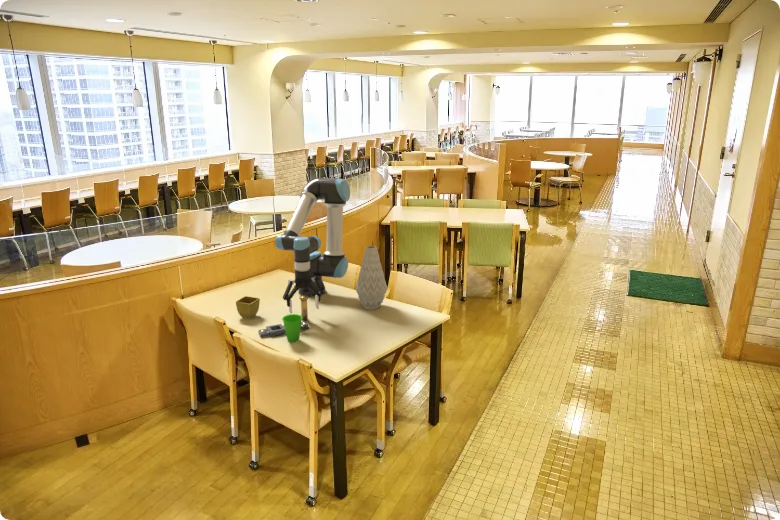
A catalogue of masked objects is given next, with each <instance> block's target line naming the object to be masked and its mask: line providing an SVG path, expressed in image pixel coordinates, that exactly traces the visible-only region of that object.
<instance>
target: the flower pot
mask: <svg viewBox="0 0 780 520" xmlns="http://www.w3.org/2000/svg"><path fill="white" fill-rule="evenodd" d="M260 300H261V298H260V297H253V296H247V295H246V296H245V295H244V296H243V297H241V298H239V299H238V300H237V299H236V301H235V307H236V310H237V313H238V314H239V316H240V317H241V318H245V319H252V318H254V317H255V316H256V315H257V314H258V312H259V310H260Z"/></svg>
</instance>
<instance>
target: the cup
mask: <svg viewBox="0 0 780 520" xmlns="http://www.w3.org/2000/svg"><path fill="white" fill-rule="evenodd" d="M302 318H303V317H302V315H301V314H298V313H289V314H286V315H284V316H283V317H282V318H281V320H282V321H283V325H284V326H285V331H286V333H285V335H286V339H287V342H288V343H297V342H299V340H300V337H301V336H300V335H301V330H300V329H301V322H303V321H302Z"/></svg>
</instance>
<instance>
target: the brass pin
mask: <svg viewBox="0 0 780 520" xmlns="http://www.w3.org/2000/svg"><path fill="white" fill-rule="evenodd" d="M308 299H309V296H305V295H304V296H302V295H300V296H299V300H300V313H301V314H300V315H301V316H302V317H303V318H302V321H301V322H307V321H308V320H309V315H308V314H309V313H308Z"/></svg>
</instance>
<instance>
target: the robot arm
mask: <svg viewBox="0 0 780 520" xmlns="http://www.w3.org/2000/svg"><path fill="white" fill-rule="evenodd" d="M350 197H351V189H350V185H349V182H348V181H347V180H346V179H344V178H339V177H338V178H332V177H331V178H330V177H329V178H328V177H317V178H313V180H311V181H309V182H308V183H307V184H306V185H305V186H304V187H303V189H302V190H301V192H300V194H299V201H298V203H297V205H296V207H295V209H294V211H293V213H292V215H291V217H290V220H289V222H288V224H287V226H286V228H285V230H284V232H283V234H282V233H281V234H278V235H277V236H276V237H275V241H274V244H275V247H276V249H278V250H280V251H281V250H282V251H293V255H294V256H293V257H294V260H293V261H294V280H293V279H289V280H288V284H287V286H286V288H285V291H284V294H283V296H282V300H284V301H286V306H287V307H288V312H289V314H293V302H292V300H291V299H292V298H293V297H294V296H295V294H296V293H297V292H298V294H299V295H300V296H304V295H305V296H308V298H310V297H315V298H314V301H315V303H314V305H315V308H316V309H317V310H319V309H320V305H319V304H320V303H321V296H322V295H324V294H326V286H325V283H324V280H323V277H325V278H334V279H341V278H344V277H345V276H346V274H347V272H348V267H349V258H348V257H346V256H345V252H344V251H343V226H344V225H343V223H344V220H343V218H344V207H345V206H346V205H347V202H348V201H349V200H350ZM319 200H324V205H326V246H325V247H326V249H325V251H324V252H323V254H322V252H321V251H320V250H319V249H320V248H321V246H322V241H321V239H320V238H319V236H317V235H311V236H300V235H301V233H302V231H303V228H304V227H305V224H306V222H307V219H308V217H309V215H310V213H311V211H312V209H313V207H314V205H315V204H317V203H318V201H319ZM318 250H319V251H318ZM294 284H295V285H294ZM293 285H294V286H293ZM292 287H293V288H292Z"/></svg>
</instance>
